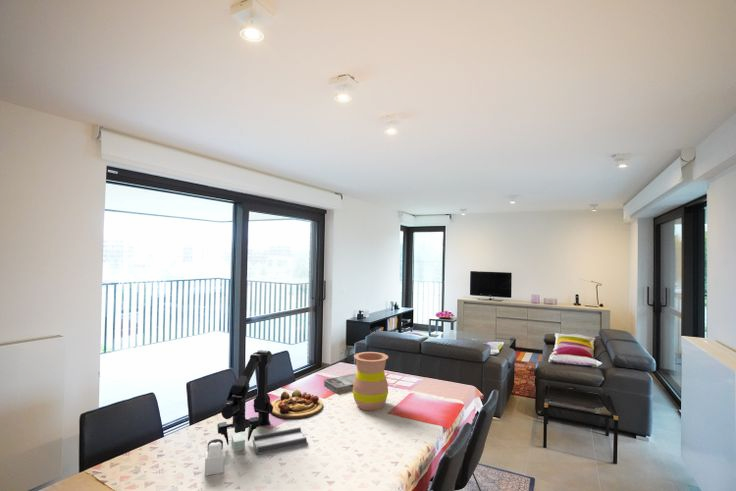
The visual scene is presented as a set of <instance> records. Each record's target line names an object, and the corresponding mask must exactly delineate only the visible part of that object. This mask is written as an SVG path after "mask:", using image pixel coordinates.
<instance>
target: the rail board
mask: <svg viewBox="0 0 736 491" xmlns="http://www.w3.org/2000/svg"><path fill="white" fill-rule="evenodd" d="M307 439H308V438H307V437H305V436H304V433H303V432H302V430H301V427H296V428H289V429H284V430H279V431H273V432H268V433H262V434H258V435H257V434H256V435H254V436H253V439H252V443H253V447H254V451H255V454H256V456H260V455H264V454H270V453H275V452H279V451H284V450H291V449H293V448H299V447H304V446H307V445H308V440H307Z"/></svg>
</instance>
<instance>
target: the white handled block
mask: <svg viewBox="0 0 736 491" xmlns="http://www.w3.org/2000/svg"><path fill="white" fill-rule="evenodd" d="M204 460H205V462H204V463H205V464H204V467H205V469H204V476H212V475H219V474H222V473H224V467H225V465H224V464H225V448H224V441H223V440H222V439H219V438H216V439H212V440H210V441H208V443H207V450H206V452H205V459H204Z"/></svg>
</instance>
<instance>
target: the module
mask: <svg viewBox="0 0 736 491" xmlns="http://www.w3.org/2000/svg"><path fill="white" fill-rule="evenodd" d="M231 448H232V450H233V452H238V451H244V450H245V449H246V439H245V436H244V432H238V433H234V434H231Z"/></svg>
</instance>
